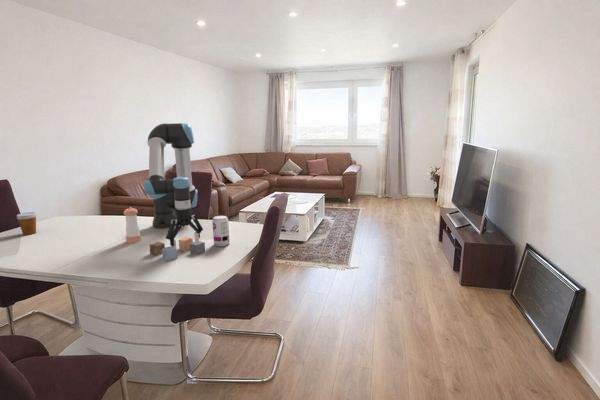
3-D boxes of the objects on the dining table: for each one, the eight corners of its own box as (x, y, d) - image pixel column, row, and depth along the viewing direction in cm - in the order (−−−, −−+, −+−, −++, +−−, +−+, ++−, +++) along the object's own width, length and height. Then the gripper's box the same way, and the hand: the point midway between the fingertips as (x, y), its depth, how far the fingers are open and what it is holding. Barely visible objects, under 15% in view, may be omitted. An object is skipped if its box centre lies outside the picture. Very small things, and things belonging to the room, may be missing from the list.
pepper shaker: (135, 243, 190) (131, 209, 186) (123, 242, 191) (119, 208, 187) (143, 239, 197) (140, 206, 193) (132, 238, 198) (128, 205, 194)
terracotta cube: (179, 248, 182) (178, 239, 181) (187, 246, 186) (186, 237, 184) (184, 250, 179) (184, 241, 178) (193, 248, 182) (192, 238, 181)
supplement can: (214, 247, 182) (212, 219, 179) (213, 242, 190) (212, 215, 187) (230, 246, 185) (228, 218, 182) (228, 241, 192) (227, 214, 189)
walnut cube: (150, 254, 174) (149, 244, 173) (158, 251, 179) (157, 241, 177) (157, 255, 172) (156, 246, 171) (165, 252, 176) (164, 243, 175)
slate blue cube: (162, 258, 169) (161, 248, 168) (172, 255, 172) (172, 245, 171) (167, 261, 165) (166, 251, 164) (177, 258, 168) (176, 248, 167)
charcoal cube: (190, 253, 175) (189, 243, 174) (198, 250, 179) (197, 240, 178) (197, 255, 173) (196, 245, 172) (205, 252, 177) (204, 242, 176)
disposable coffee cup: (43, 231, 213) (40, 212, 211) (30, 236, 204) (26, 216, 202) (29, 231, 214) (25, 211, 212) (15, 235, 205) (11, 215, 203)
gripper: (164, 213, 166) (168, 256, 170) (208, 204, 185) (210, 243, 189) (156, 211, 170) (159, 253, 175) (199, 202, 189) (201, 240, 194)
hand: (186, 248), depth 182 cm, fingers open, 13 cm apart
